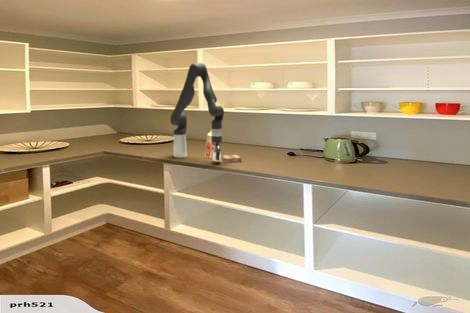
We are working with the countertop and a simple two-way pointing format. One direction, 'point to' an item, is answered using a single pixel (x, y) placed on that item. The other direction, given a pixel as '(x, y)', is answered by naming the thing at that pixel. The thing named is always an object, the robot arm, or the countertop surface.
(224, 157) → the base
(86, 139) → the countertop surface
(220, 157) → the cube
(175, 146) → the robot arm
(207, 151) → the milk carton
